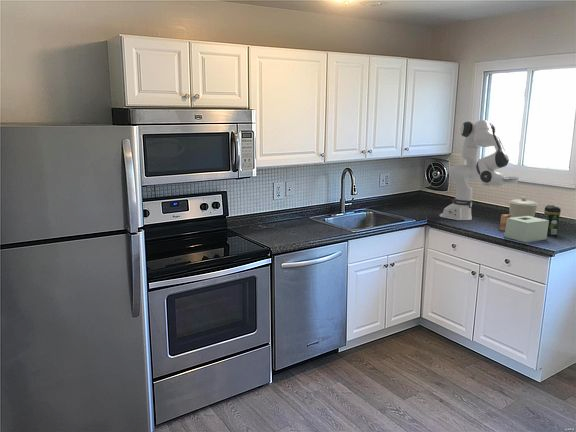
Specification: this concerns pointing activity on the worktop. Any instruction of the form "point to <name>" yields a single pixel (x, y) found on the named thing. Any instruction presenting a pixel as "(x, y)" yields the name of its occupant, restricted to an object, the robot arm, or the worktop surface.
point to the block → (504, 221)
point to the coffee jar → (552, 218)
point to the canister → (522, 207)
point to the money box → (526, 228)
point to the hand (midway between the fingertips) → (505, 182)
